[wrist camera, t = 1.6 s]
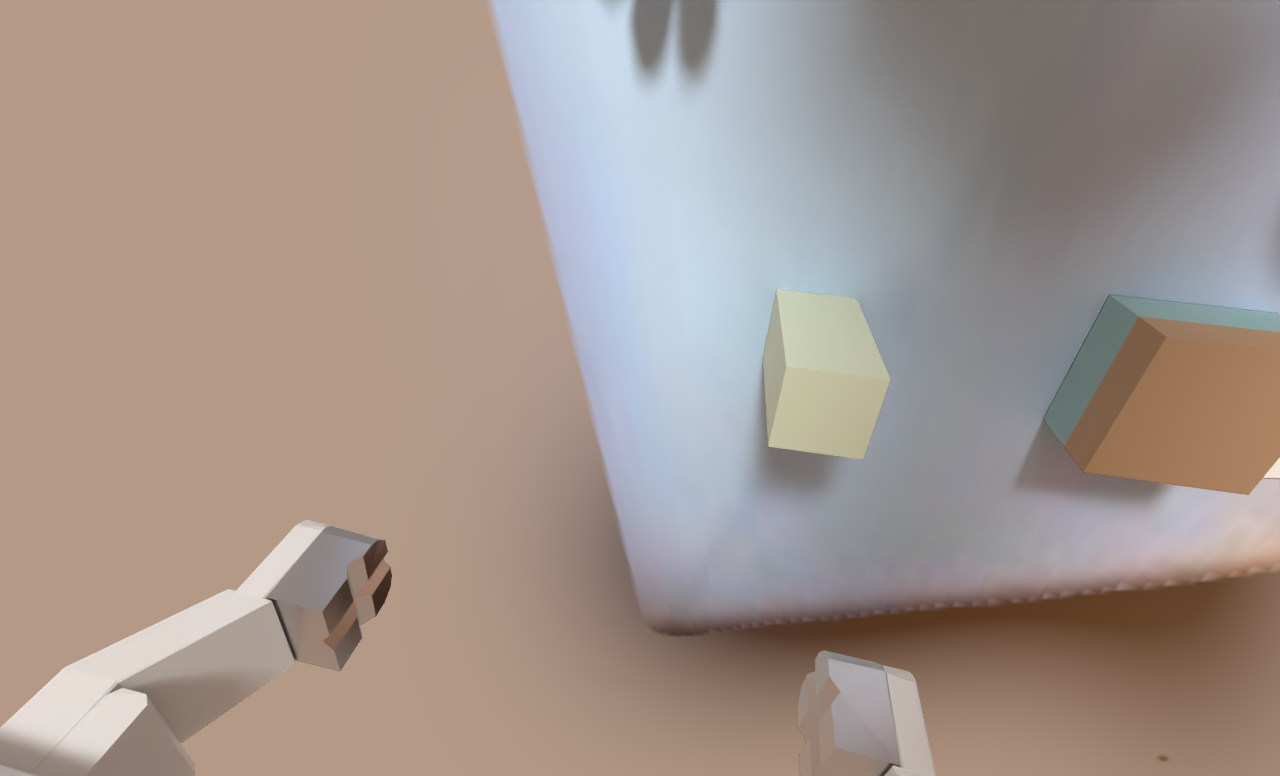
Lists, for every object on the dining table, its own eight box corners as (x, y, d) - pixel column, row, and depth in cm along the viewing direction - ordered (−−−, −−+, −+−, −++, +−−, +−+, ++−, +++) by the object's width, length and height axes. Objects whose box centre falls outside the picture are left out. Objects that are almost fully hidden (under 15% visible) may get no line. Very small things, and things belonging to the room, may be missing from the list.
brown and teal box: (1109, 294, 34) (1166, 336, 30) (1276, 313, 33) (1361, 359, 29) (1043, 419, 39) (1083, 472, 34) (1187, 438, 38) (1248, 495, 34)
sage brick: (776, 288, 37) (786, 366, 29) (856, 297, 37) (890, 379, 28) (762, 357, 40) (768, 446, 31) (837, 366, 39) (863, 459, 31)
